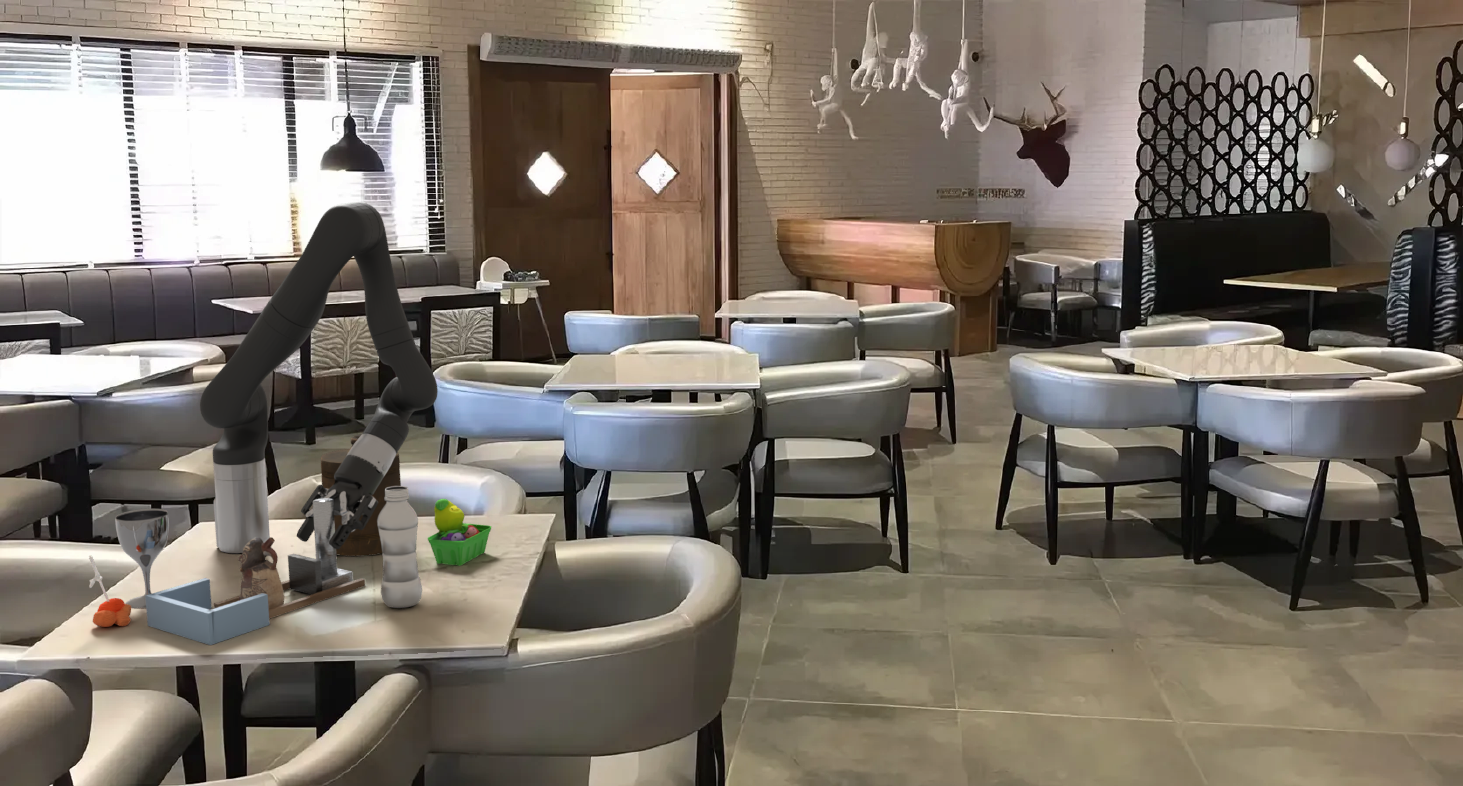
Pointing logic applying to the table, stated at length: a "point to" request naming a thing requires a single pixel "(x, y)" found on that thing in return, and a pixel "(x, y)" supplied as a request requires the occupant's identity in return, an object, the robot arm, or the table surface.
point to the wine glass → (143, 541)
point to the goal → (204, 613)
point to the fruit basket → (456, 536)
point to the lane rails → (305, 600)
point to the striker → (319, 556)
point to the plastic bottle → (399, 550)
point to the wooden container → (369, 537)
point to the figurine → (260, 572)
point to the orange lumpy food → (109, 606)
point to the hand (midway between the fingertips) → (317, 543)
